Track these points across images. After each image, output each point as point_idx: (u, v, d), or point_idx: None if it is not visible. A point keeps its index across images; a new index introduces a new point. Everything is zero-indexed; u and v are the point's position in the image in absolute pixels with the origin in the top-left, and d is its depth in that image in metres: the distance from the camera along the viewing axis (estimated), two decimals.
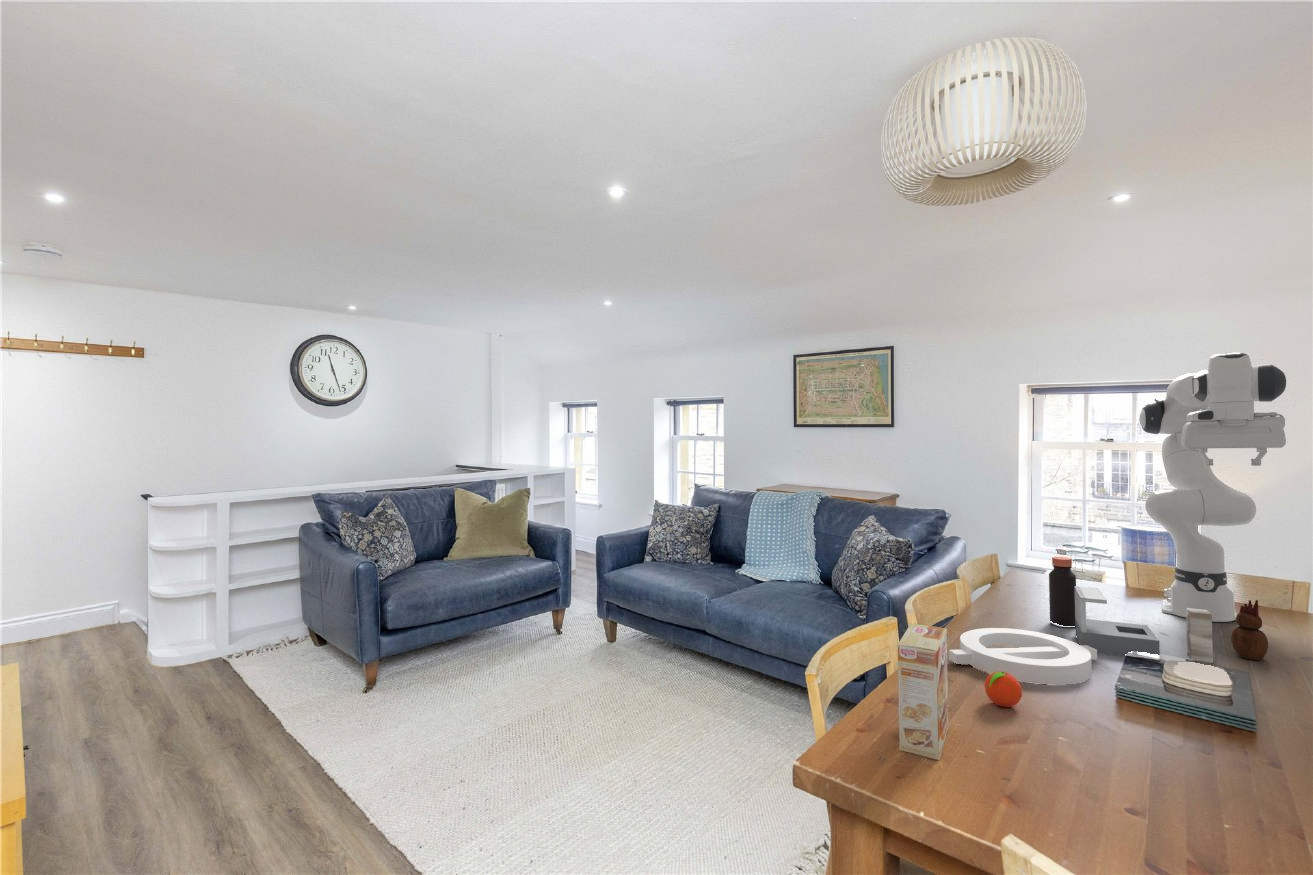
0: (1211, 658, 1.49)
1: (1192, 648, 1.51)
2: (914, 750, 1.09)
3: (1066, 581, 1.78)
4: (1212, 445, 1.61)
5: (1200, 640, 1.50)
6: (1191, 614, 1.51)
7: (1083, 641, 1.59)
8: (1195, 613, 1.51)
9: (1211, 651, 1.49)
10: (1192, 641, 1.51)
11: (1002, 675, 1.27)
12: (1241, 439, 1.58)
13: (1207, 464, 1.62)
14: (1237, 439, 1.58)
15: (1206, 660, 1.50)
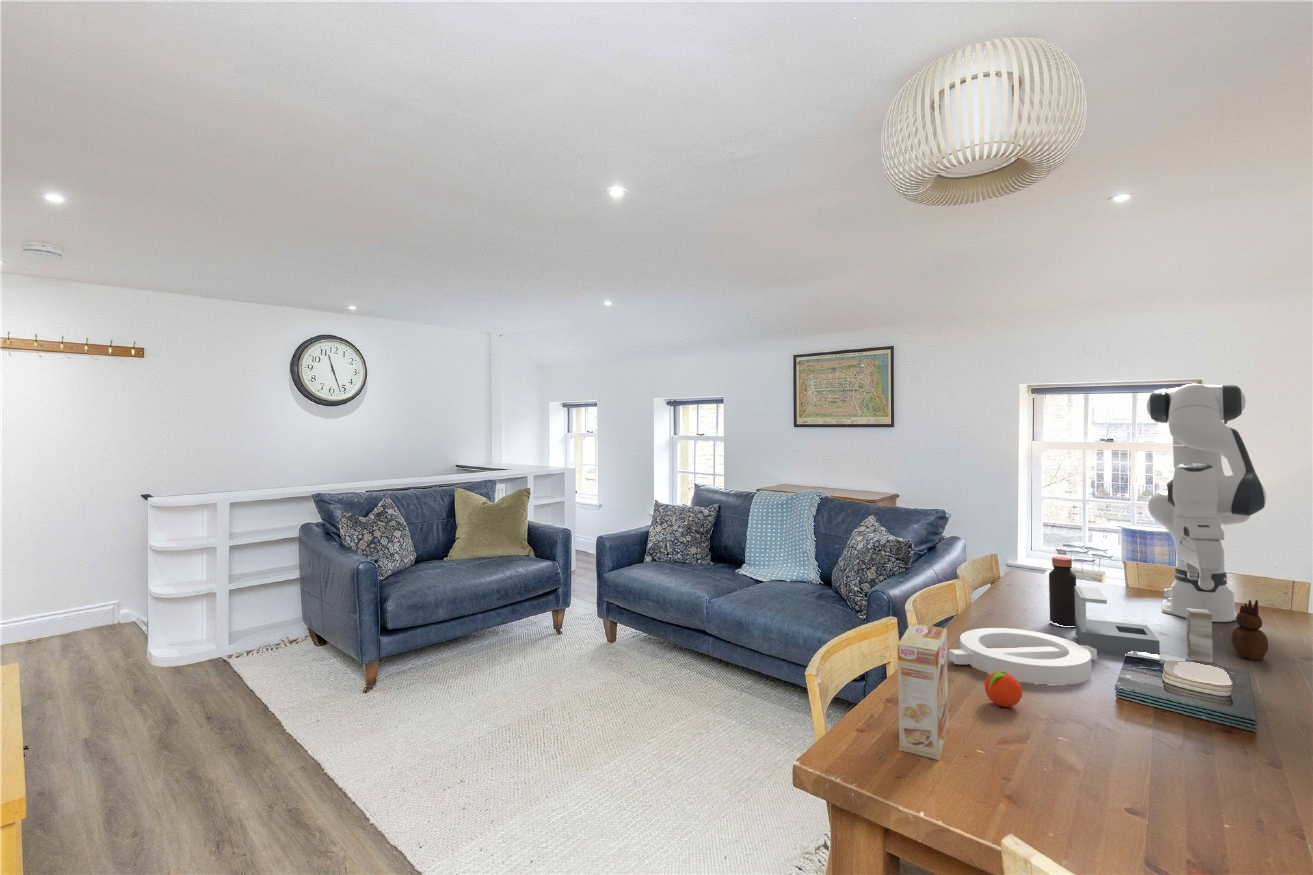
0: (1211, 658, 1.49)
1: (1192, 648, 1.51)
2: (914, 750, 1.09)
3: (1066, 581, 1.78)
4: None
5: (1200, 640, 1.50)
6: (1191, 614, 1.51)
7: (1083, 641, 1.59)
8: (1195, 613, 1.51)
9: (1211, 651, 1.49)
10: (1192, 641, 1.51)
11: (1002, 675, 1.27)
12: None
13: None
14: None
15: (1206, 660, 1.50)
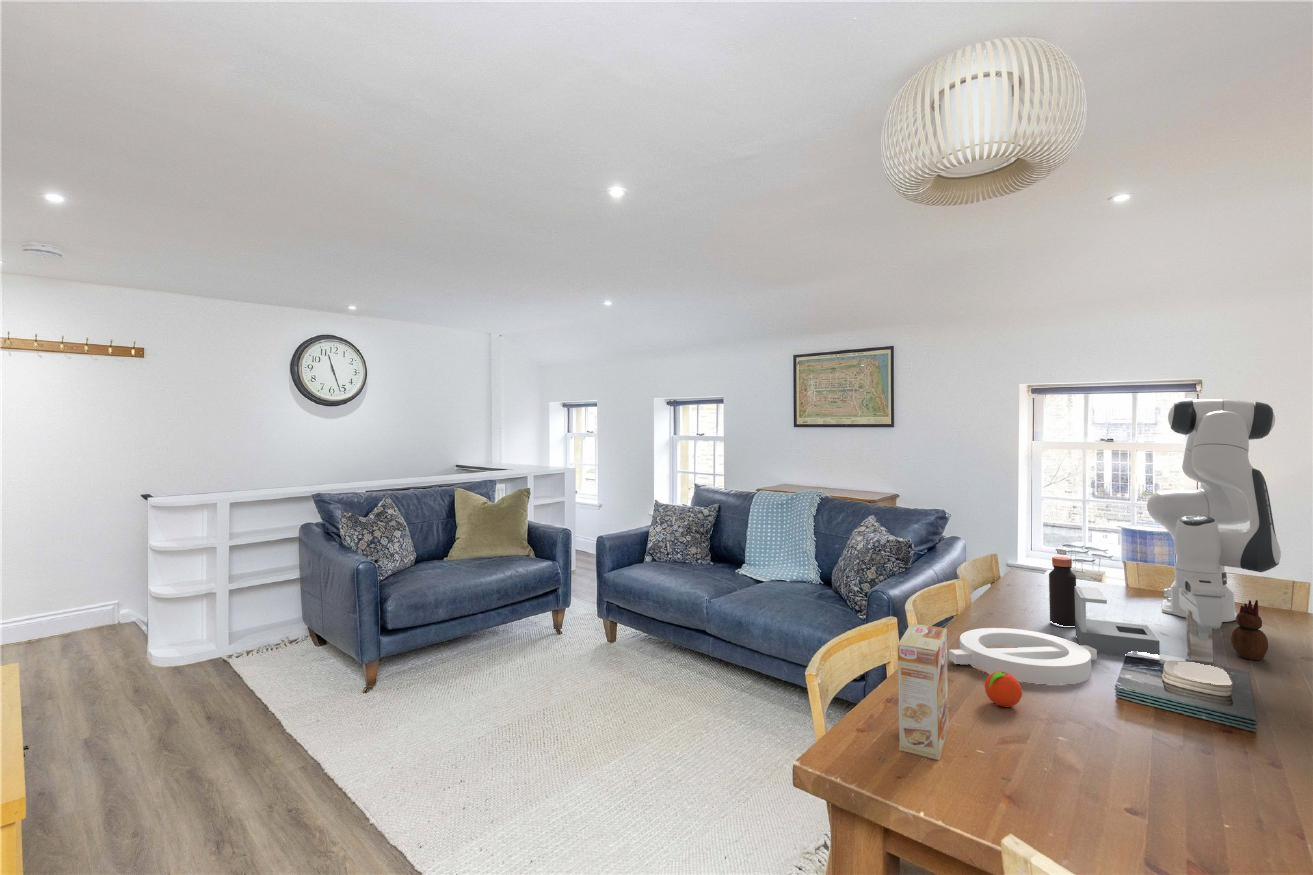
0: (1211, 658, 1.49)
1: (1192, 648, 1.51)
2: (914, 750, 1.09)
3: (1066, 581, 1.78)
4: None
5: (1200, 640, 1.50)
6: (1191, 614, 1.51)
7: (1083, 641, 1.59)
8: None
9: (1211, 651, 1.49)
10: (1192, 641, 1.51)
11: (1002, 675, 1.27)
12: None
13: None
14: None
15: (1206, 660, 1.50)
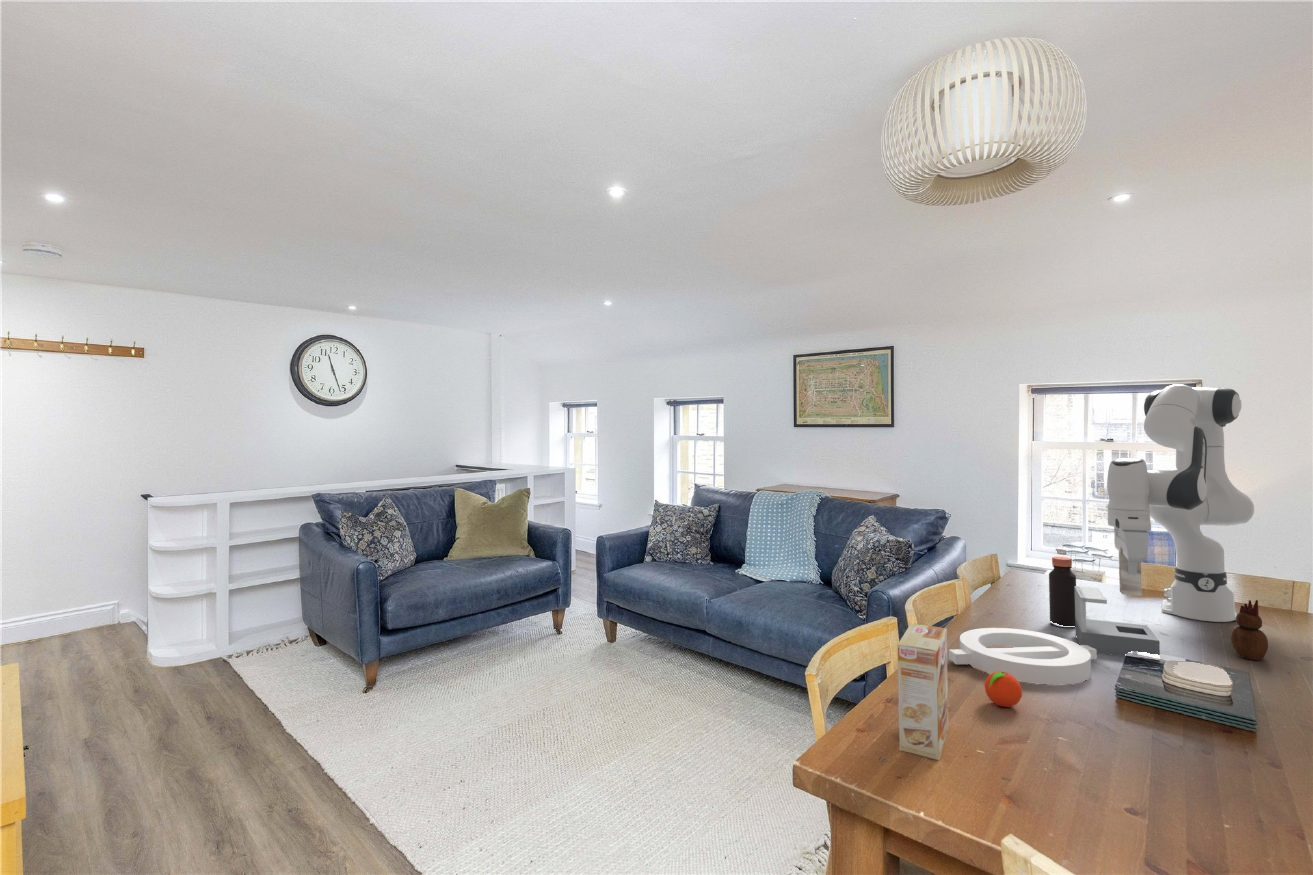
0: (1140, 592, 1.57)
1: (1123, 583, 1.59)
2: (914, 750, 1.09)
3: (1066, 581, 1.78)
4: None
5: (1130, 575, 1.58)
6: None
7: (1083, 641, 1.59)
8: None
9: (1140, 585, 1.57)
10: (1123, 576, 1.59)
11: (1002, 675, 1.27)
12: None
13: None
14: None
15: (1136, 594, 1.57)
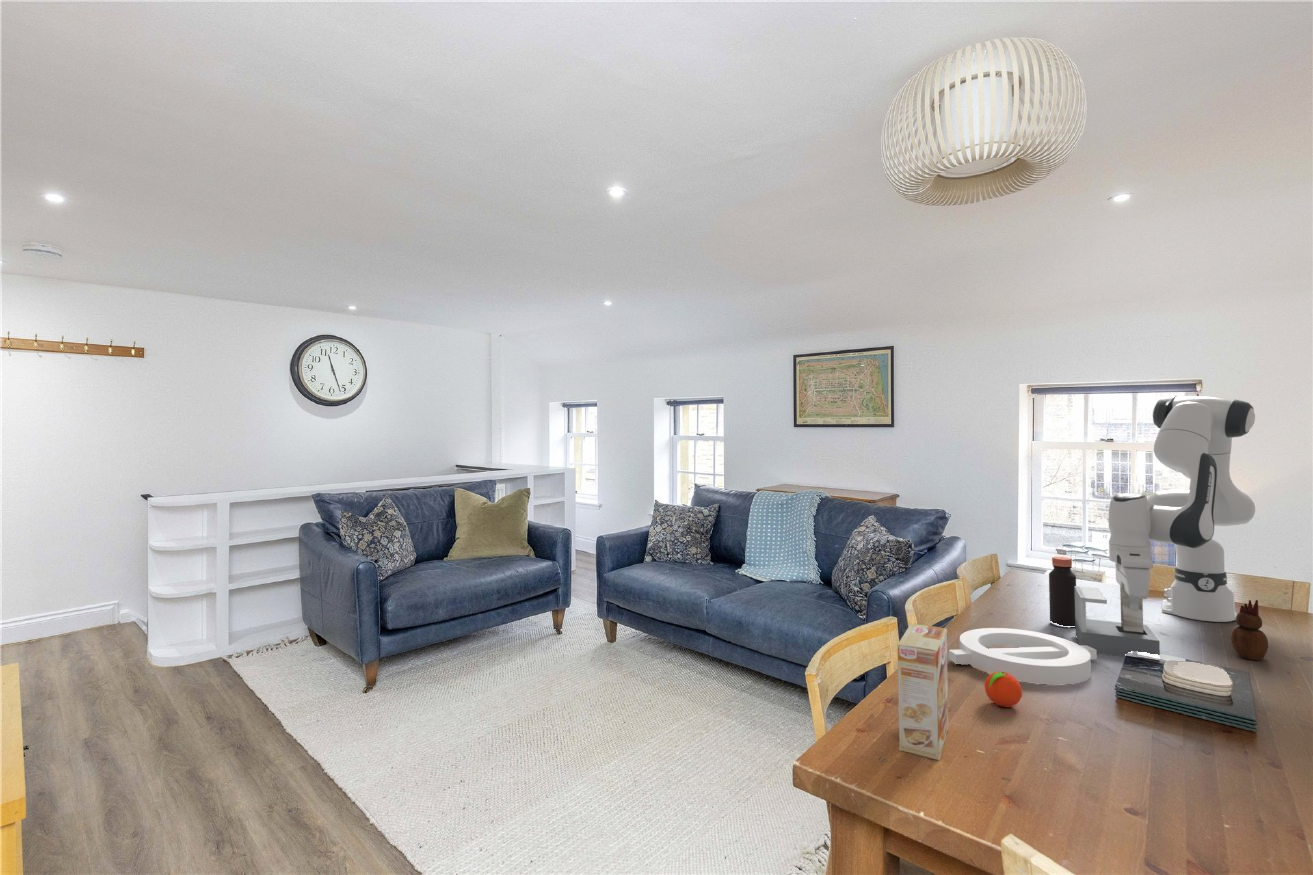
0: (1142, 628, 1.57)
1: (1124, 619, 1.58)
2: (914, 750, 1.09)
3: (1066, 581, 1.78)
4: None
5: (1131, 611, 1.58)
6: (1123, 586, 1.58)
7: (1083, 641, 1.59)
8: None
9: (1142, 621, 1.57)
10: (1124, 612, 1.58)
11: (1002, 675, 1.27)
12: None
13: None
14: None
15: (1137, 630, 1.57)
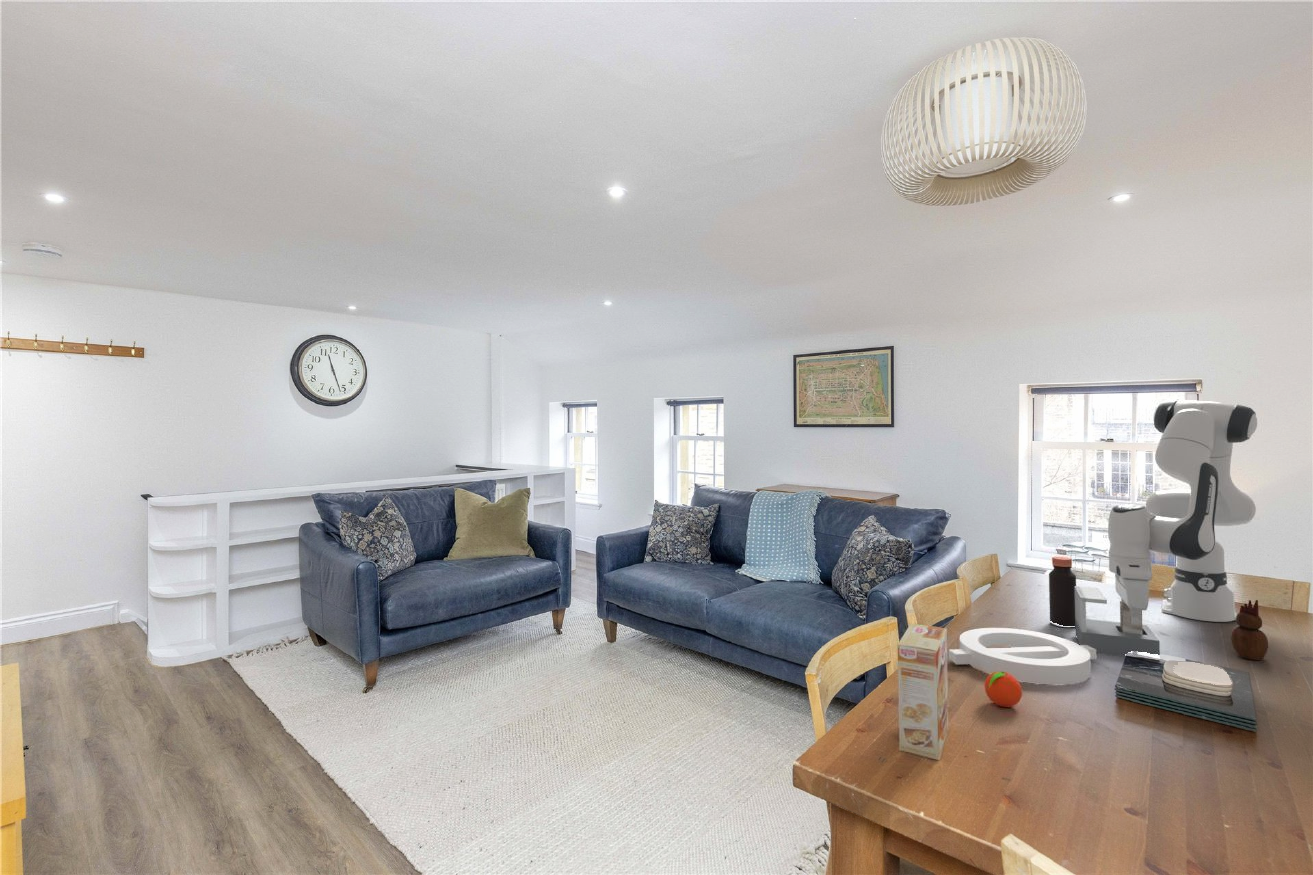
0: None
1: None
2: (914, 750, 1.09)
3: (1066, 581, 1.78)
4: None
5: (1131, 631, 1.58)
6: (1123, 607, 1.59)
7: (1083, 641, 1.59)
8: (1127, 606, 1.58)
9: None
10: (1124, 632, 1.59)
11: (1002, 675, 1.27)
12: None
13: None
14: None
15: None
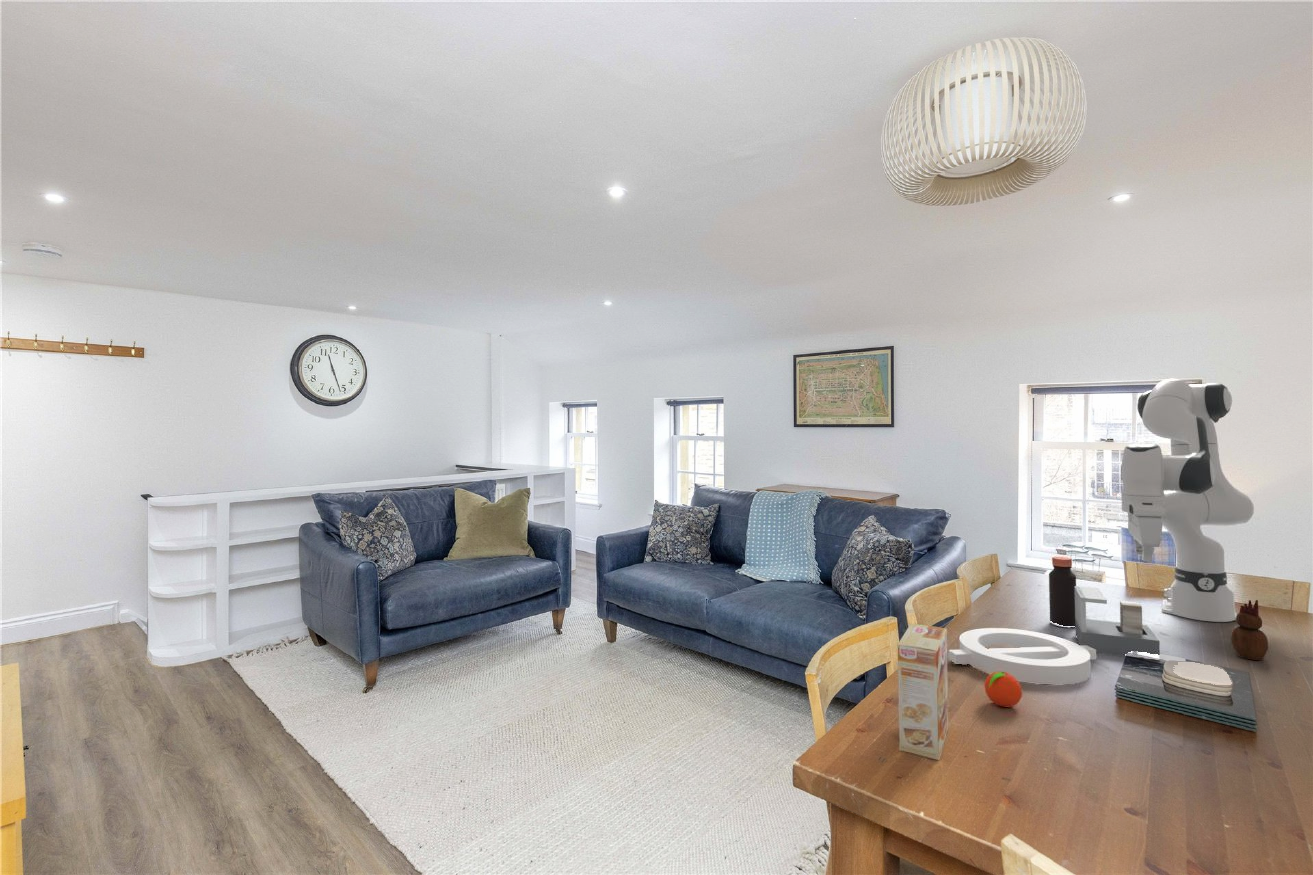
0: None
1: None
2: (914, 750, 1.09)
3: (1066, 581, 1.78)
4: None
5: (1131, 631, 1.58)
6: (1123, 607, 1.59)
7: (1083, 641, 1.59)
8: (1127, 606, 1.58)
9: None
10: (1124, 632, 1.59)
11: (1002, 675, 1.27)
12: None
13: None
14: None
15: None
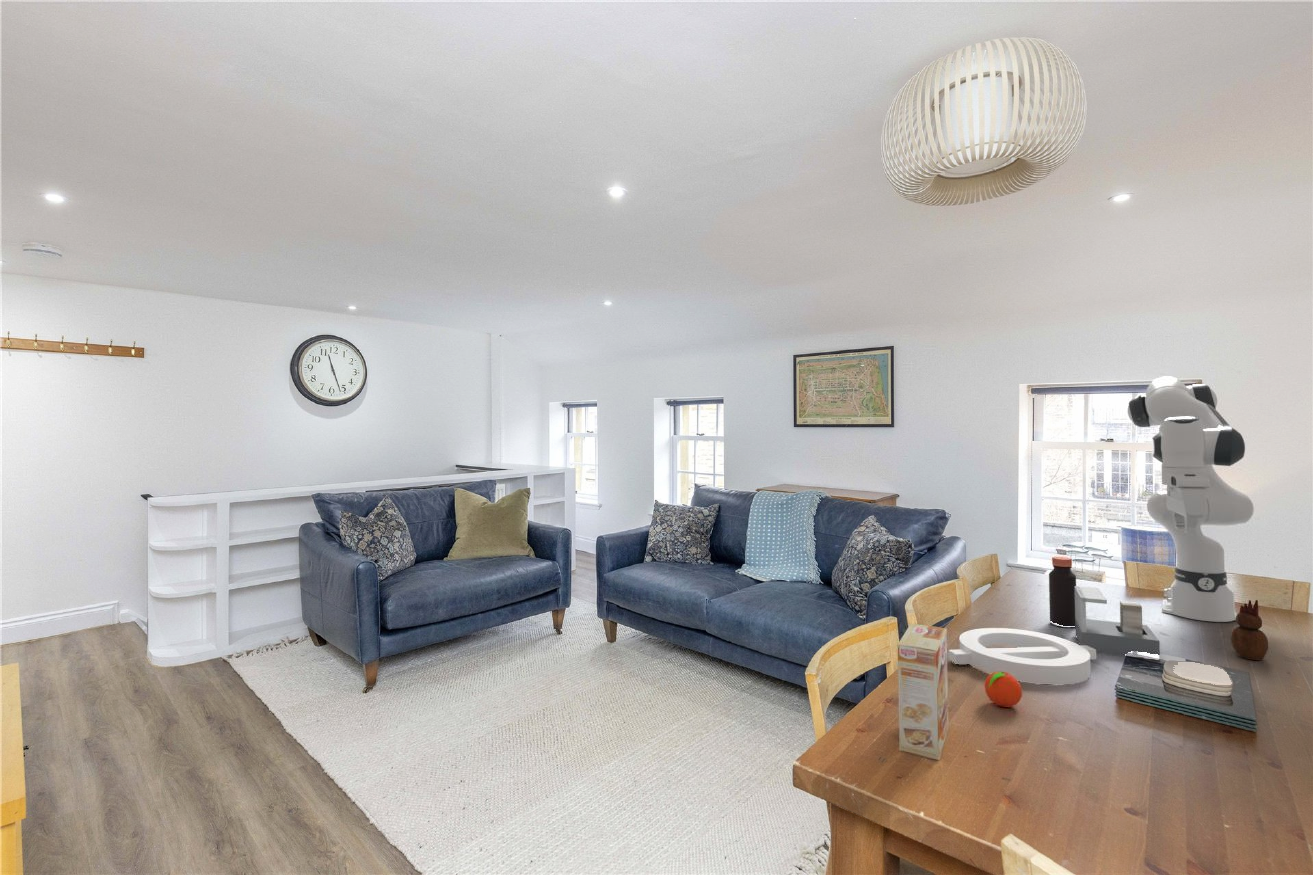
0: None
1: None
2: (914, 750, 1.09)
3: (1066, 581, 1.78)
4: None
5: (1131, 631, 1.58)
6: (1123, 607, 1.59)
7: (1083, 641, 1.59)
8: (1127, 606, 1.58)
9: None
10: (1124, 632, 1.59)
11: (1002, 675, 1.27)
12: None
13: None
14: None
15: None
